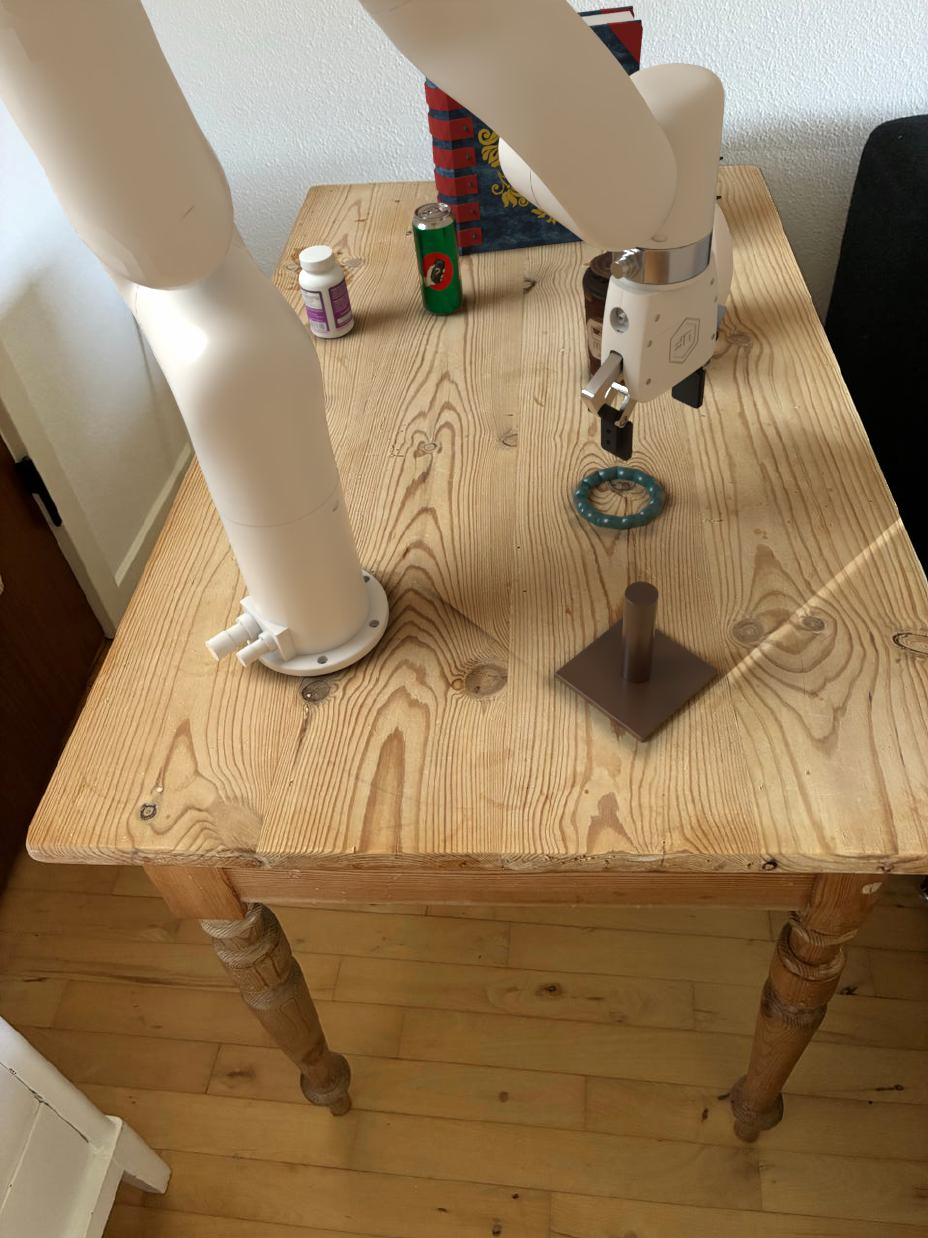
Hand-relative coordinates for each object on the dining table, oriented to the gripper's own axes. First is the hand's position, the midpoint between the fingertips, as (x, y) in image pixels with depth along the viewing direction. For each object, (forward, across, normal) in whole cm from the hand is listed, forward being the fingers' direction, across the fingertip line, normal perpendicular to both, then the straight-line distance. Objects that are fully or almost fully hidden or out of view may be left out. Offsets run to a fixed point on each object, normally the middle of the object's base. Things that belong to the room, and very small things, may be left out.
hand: (652, 427), depth 85 cm
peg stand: (+6, -19, -15) cm, 25 cm away
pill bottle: (+6, -3, +47) cm, 48 cm away
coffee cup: (+7, +12, +14) cm, 20 cm away
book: (+7, +29, +44) cm, 53 cm away
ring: (+6, -4, 0) cm, 7 cm away
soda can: (+7, +9, +40) cm, 42 cm away
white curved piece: (+7, +24, +14) cm, 29 cm away
